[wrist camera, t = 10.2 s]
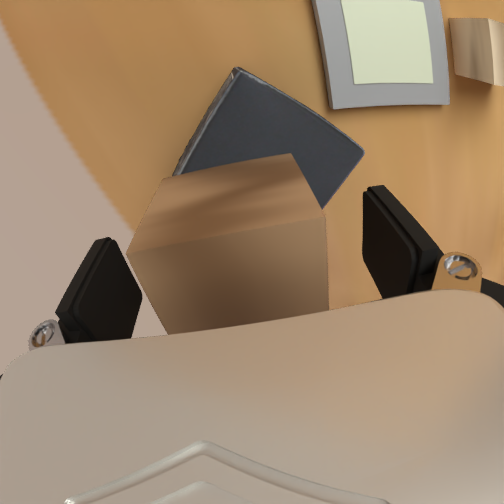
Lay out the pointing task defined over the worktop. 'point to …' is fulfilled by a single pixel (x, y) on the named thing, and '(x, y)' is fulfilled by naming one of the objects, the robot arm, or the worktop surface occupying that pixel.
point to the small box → (270, 135)
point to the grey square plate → (383, 52)
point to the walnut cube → (233, 247)
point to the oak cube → (478, 49)
